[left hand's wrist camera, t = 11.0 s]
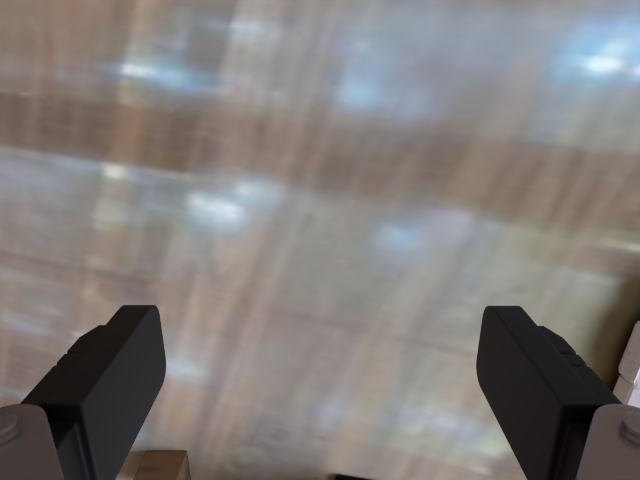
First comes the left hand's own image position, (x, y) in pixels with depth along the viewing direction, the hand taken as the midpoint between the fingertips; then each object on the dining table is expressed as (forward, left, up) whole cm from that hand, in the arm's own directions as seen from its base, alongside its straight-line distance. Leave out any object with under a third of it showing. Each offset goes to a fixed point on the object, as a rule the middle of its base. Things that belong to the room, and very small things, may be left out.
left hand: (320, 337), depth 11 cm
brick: (-8, -40, -31) cm, 51 cm away
